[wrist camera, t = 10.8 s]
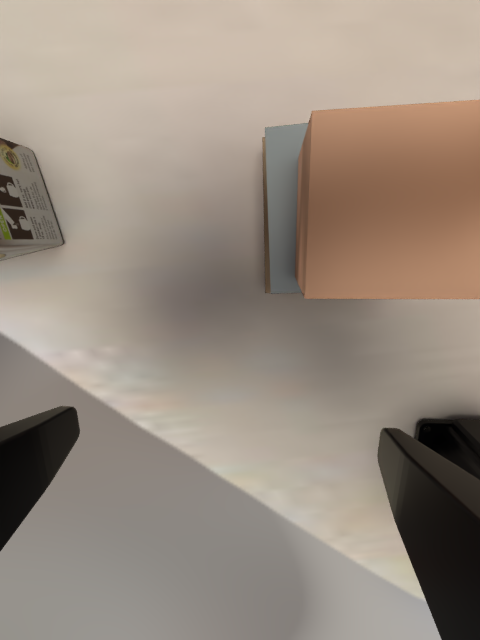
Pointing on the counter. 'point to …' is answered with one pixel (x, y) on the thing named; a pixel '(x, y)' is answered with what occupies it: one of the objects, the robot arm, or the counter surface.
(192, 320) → the counter surface
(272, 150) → the slate top slab
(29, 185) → the coffee box
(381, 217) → the terracotta cube
